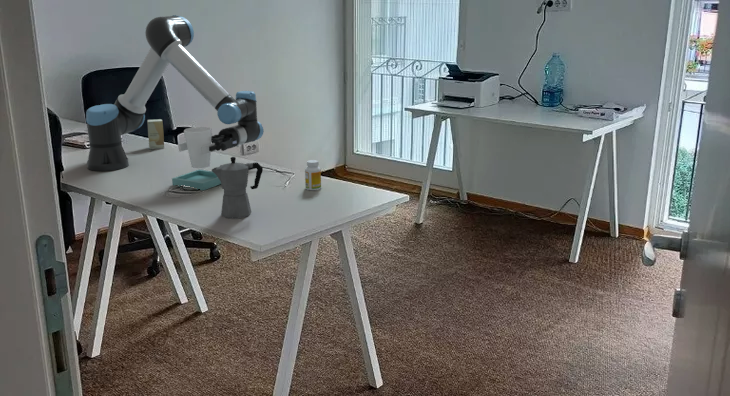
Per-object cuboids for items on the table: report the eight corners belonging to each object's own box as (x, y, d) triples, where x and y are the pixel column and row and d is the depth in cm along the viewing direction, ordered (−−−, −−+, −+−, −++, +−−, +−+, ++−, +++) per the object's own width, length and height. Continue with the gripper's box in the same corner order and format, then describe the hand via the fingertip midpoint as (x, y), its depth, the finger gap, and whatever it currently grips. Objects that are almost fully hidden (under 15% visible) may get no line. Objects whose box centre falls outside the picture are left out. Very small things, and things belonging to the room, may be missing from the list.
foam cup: (217, 163, 245) (215, 127, 241) (209, 169, 236) (206, 132, 233) (192, 162, 246) (189, 127, 242) (183, 169, 237) (179, 132, 234)
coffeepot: (217, 221, 203) (213, 162, 198) (212, 212, 212) (208, 155, 206) (268, 215, 209) (265, 157, 203) (261, 206, 217) (258, 151, 212)
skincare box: (149, 149, 294) (147, 121, 290) (149, 147, 298) (146, 119, 294) (165, 148, 296) (162, 120, 292) (164, 146, 300) (161, 118, 296)
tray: (172, 185, 241) (171, 178, 240) (199, 175, 252) (199, 169, 252) (203, 190, 234) (202, 183, 233) (229, 180, 246) (229, 174, 245)
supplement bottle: (323, 187, 238) (323, 160, 235) (317, 191, 233) (316, 163, 230) (309, 185, 240) (308, 158, 237) (303, 189, 235) (302, 162, 232)
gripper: (256, 149, 250) (216, 163, 232) (209, 144, 261) (167, 156, 242) (255, 129, 248) (214, 141, 229) (208, 124, 258) (165, 135, 240)
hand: (190, 149), depth 236 cm, fingers closed on foam cup, 9 cm apart
